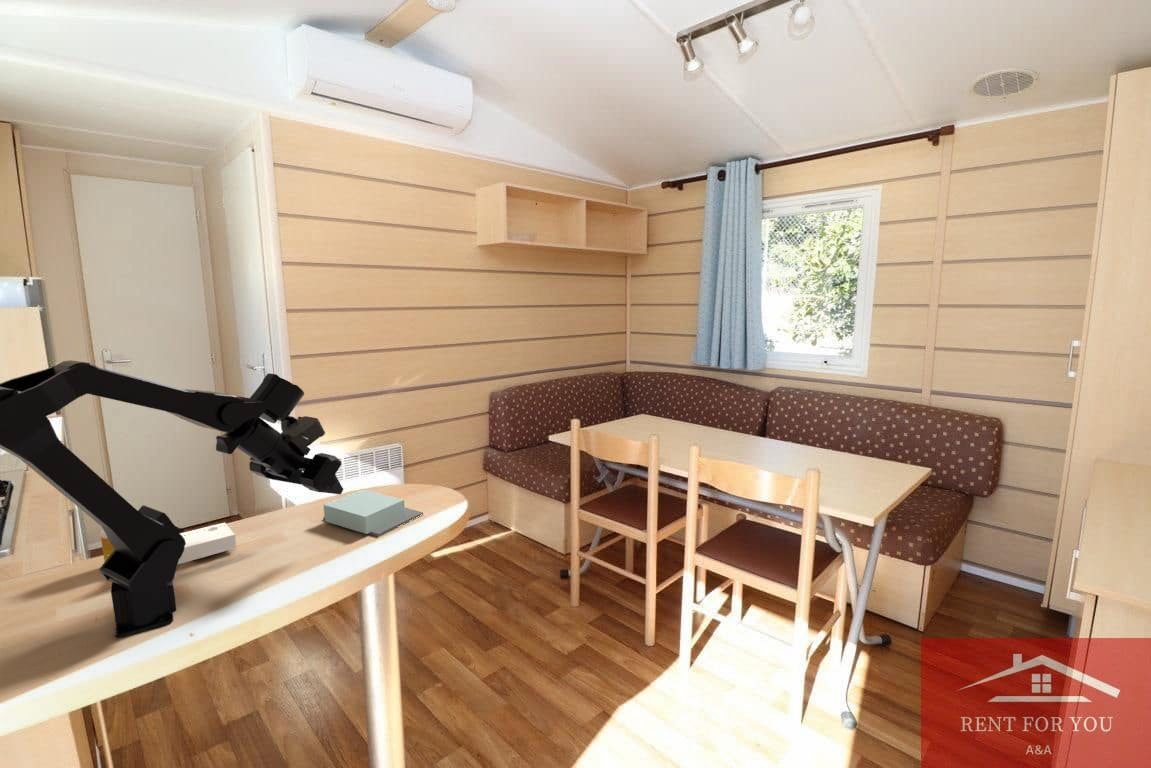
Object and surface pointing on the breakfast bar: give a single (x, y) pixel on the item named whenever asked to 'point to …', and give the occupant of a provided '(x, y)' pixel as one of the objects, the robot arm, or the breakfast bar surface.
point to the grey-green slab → (364, 511)
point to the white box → (207, 542)
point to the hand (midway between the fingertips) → (324, 487)
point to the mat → (396, 522)
